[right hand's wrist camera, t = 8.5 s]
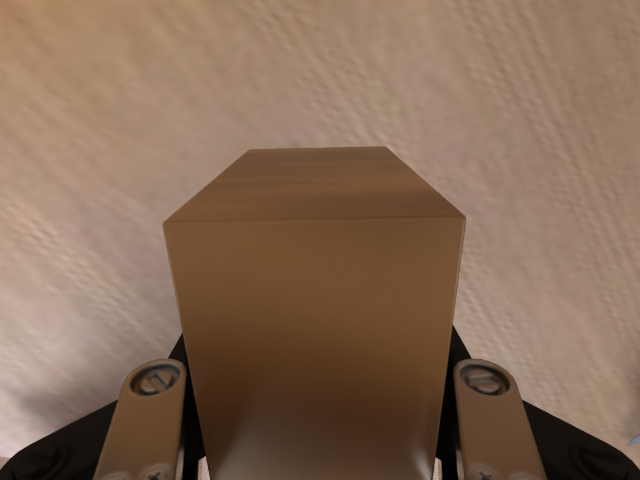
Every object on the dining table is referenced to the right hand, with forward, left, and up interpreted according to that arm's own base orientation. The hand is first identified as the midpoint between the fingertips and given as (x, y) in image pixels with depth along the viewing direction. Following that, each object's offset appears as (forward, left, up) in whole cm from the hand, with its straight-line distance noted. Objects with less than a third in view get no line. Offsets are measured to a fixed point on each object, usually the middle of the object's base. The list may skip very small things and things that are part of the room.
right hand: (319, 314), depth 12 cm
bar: (+9, -26, -2) cm, 28 cm away
